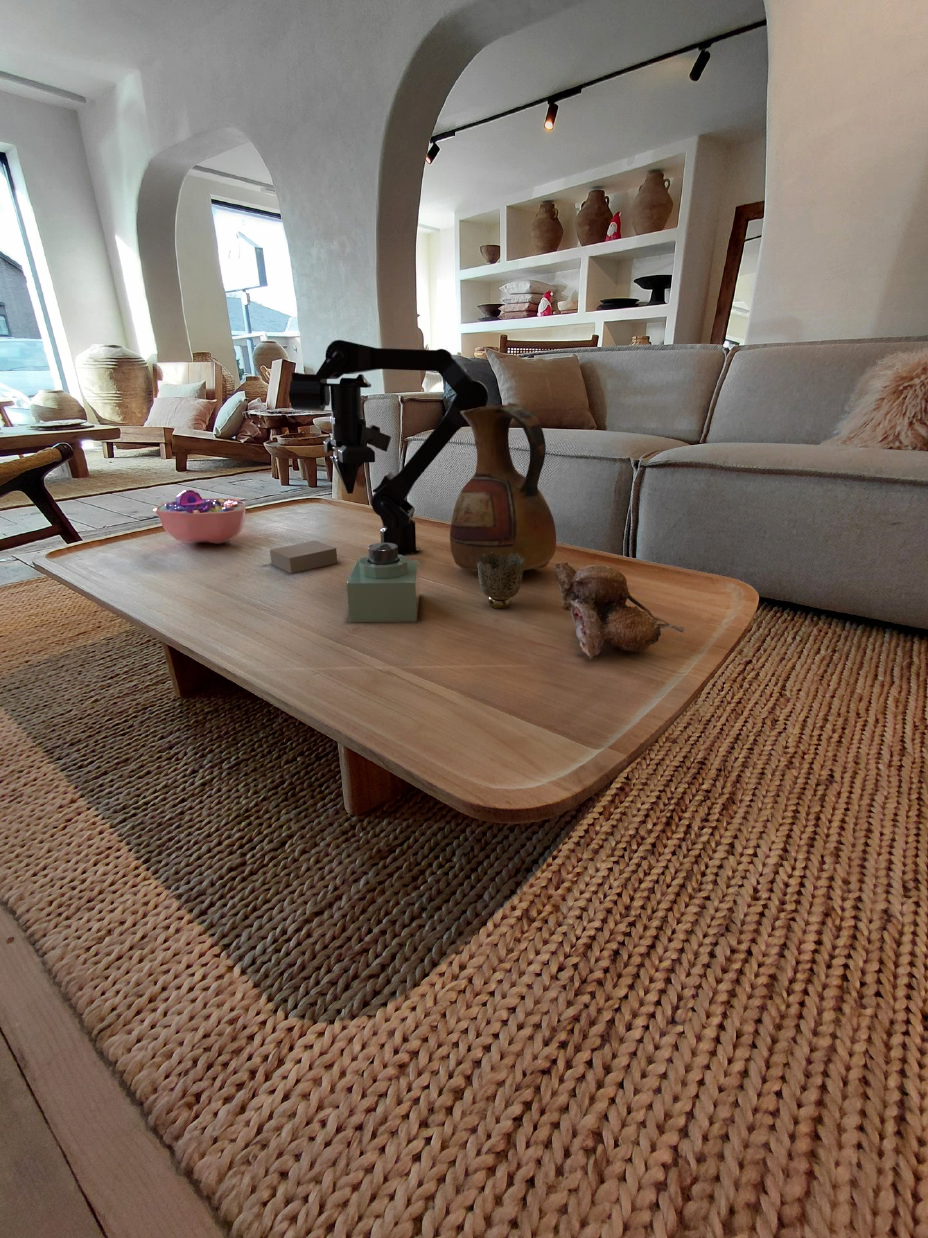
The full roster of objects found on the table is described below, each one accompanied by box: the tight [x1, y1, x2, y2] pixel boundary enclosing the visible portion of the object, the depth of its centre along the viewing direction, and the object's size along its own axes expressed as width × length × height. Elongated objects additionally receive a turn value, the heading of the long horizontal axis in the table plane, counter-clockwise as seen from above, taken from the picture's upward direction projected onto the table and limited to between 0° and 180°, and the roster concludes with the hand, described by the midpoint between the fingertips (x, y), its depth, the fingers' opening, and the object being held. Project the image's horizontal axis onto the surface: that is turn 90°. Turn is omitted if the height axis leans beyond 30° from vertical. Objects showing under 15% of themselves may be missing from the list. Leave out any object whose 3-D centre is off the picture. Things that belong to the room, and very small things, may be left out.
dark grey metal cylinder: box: [367, 542, 398, 565], centre depth 88 cm, size 4×4×3 cm
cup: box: [477, 551, 525, 610], centre depth 91 cm, size 8×7×8 cm
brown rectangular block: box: [269, 540, 338, 574], centre depth 113 cm, size 10×8×3 cm
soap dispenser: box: [346, 554, 420, 623], centre depth 90 cm, size 11×10×8 cm
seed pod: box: [554, 562, 685, 661], centre depth 78 cm, size 13×16×15 cm
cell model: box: [153, 489, 247, 545], centre depth 125 cm, size 17×20×11 cm
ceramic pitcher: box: [449, 402, 557, 572], centre depth 104 cm, size 20×20×30 cm
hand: (349, 493), depth 118 cm, fingers closed
